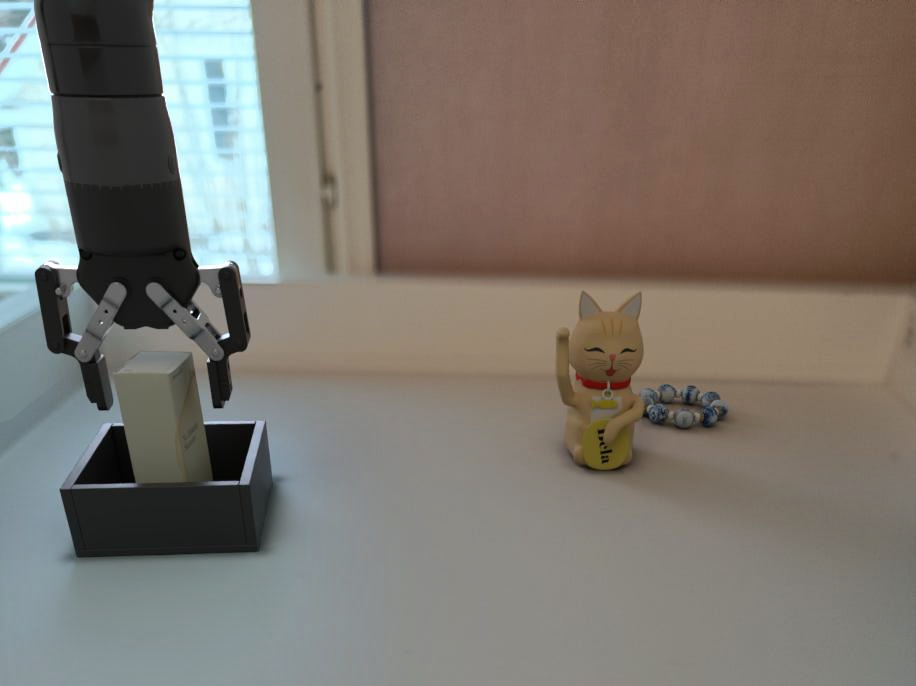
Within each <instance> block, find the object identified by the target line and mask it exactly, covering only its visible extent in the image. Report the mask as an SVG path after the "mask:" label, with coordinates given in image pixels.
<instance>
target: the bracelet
mask: <svg viewBox="0 0 916 686" xmlns="http://www.w3.org/2000/svg"><path fill="white" fill-rule="evenodd" d="M638 395H639V396H641V397H642V399H643V400H644V412H643V416H647V415H648V417H649V420H650V421H651V422H653V423H654V424H662V423H665V422H666V421H667V420H668V421H671V422H672V421H674V423H675V425H676V426H677V427H678V428H681V429H687V428H689V427H691V425H692V424H693V423H694V422H695V423H699V424H701V425H702V426H703V427H710V426H713V425H714V424H716V422H717V421H718V420H721V419H723V418H725V417H726V416H727V414H728V411H729V406H728V404H727V402H726V401H724V400H722V399H721V396H720V394H719V393H717V392H716V391H708V392H706V393H703V392H701V391H700V390H699V388H698V387H697V386H695V385H686V386H684V387H683V388H682V390H681V389H679V388H677V389H676V388H675V387H674V386H673V385H671V384H667V383H663V384H661V385H659V386H658V388H657V389H656V390H654V389H653V388H651V387H646V388H644V389H642V390H641V391H640V392H639V394H638ZM675 398H676V399H679V398H681V400H682V402H684V403H685V404H688V405H693V404H695V403H697V402H699V403H701V406H702V407H703V408H701V409H700V410H699V411H698V412H693V410H691V409H690V408H687V407H683V408H680V409H678V410H677V411H673V410H671V411H670V409H669V408H668V407H667V406H666V405H665V404H667V403H670V402H672V401H673V400H674V399H675ZM657 400H658V401H659V402H661V403H657ZM662 403H663V404H662ZM664 403H665V404H664Z"/></svg>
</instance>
